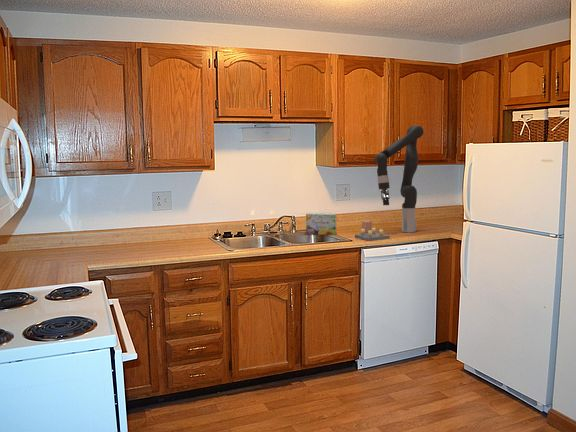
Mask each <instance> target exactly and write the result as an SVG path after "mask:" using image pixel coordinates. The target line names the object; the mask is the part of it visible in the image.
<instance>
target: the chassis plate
mask: <svg viewBox="0 0 576 432" xmlns="http://www.w3.org/2000/svg"><path fill="white" fill-rule="evenodd" d="M376 229H377V228H376V227H372V230H369V231H368V233H365V229H362V228H360V233H358V234H354V238H355V239H359V240H363V241H366V242H371V241H379V240H380V241H381V240H389V239H390V235H389V234H384V229H382V228H381V229H379V230H378V232H377V230H376Z"/></svg>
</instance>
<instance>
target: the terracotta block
mask: <svg viewBox="0 0 576 432" xmlns="http://www.w3.org/2000/svg"><path fill="white" fill-rule="evenodd" d="M372 228H373V223H372V221H371V220H362V221H361V229H365V233H368V231H369V230H372Z"/></svg>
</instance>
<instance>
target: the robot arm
mask: <svg viewBox="0 0 576 432" xmlns="http://www.w3.org/2000/svg"><path fill="white" fill-rule="evenodd" d="M423 135H424V128H423V127H422V126H420V125H411V126H409V127H408V128H407V131H406V135H404V136H402V137H401V138H399V139H398V140H396V141H394V142H393V143H391V144H389V146H387V147H386V148H385V149H384V150H382V151H381V152H379V153H378V154H376V155H375V157H374V162H375V164H377V170H376V172H377V185H378V190H379V191H380V196H381V197H380V198H381V200H382V206H390V192H389V191H390V190H389V189H390V188H391V187H390V179H389V175H388V159H389V158H392V157H393V156H395V155H396V154H397V153H398V152H401V150H402V149H404V148H405V156H404V163H403V164H404V165H403V173H402V182H401V186H400V191H399V193H400V195H401V197H402V198H404V202H403V203H402V204H401V232H402V233H416V232H417V218H416V206H417V198H418V192H417V188H416V187H415V186H414V185H412V184H413V178H414V175H415V173H416V171H417V169H418V163H419V154H418V153H419V152H418V149H417V143H418V139H420V138H421V137H422V136H423Z"/></svg>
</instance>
